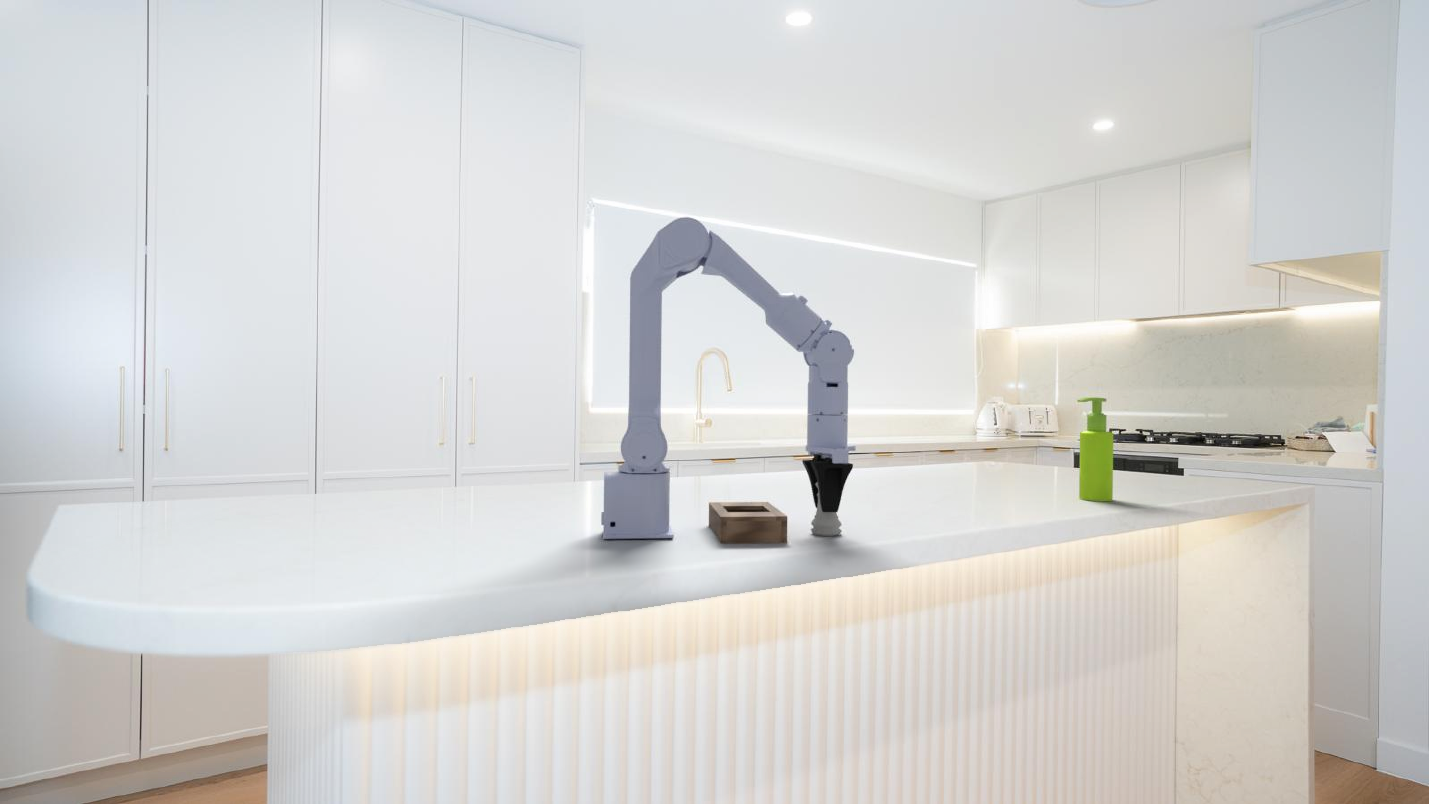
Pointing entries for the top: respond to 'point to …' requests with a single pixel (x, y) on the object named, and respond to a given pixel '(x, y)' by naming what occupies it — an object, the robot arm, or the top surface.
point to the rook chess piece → (825, 521)
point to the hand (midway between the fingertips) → (826, 510)
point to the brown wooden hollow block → (747, 522)
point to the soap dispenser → (1096, 456)
